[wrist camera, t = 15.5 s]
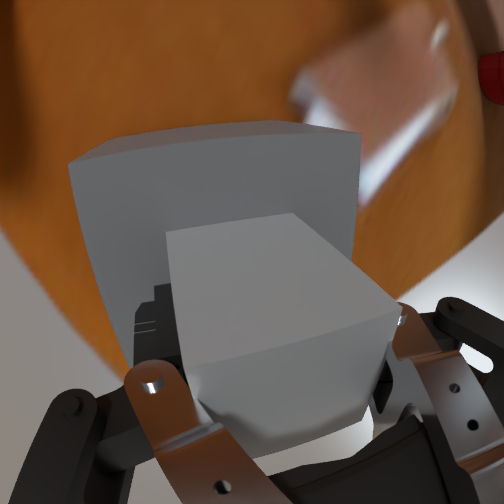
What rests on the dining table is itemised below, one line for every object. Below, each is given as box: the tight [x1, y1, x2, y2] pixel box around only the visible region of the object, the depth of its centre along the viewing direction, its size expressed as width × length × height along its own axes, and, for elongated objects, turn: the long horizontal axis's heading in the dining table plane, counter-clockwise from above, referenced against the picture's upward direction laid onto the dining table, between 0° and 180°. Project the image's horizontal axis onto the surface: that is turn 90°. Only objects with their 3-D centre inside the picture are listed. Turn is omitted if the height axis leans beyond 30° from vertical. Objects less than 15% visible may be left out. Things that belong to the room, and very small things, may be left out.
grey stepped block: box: [68, 120, 402, 459], centre depth 13 cm, size 10×10×15 cm
